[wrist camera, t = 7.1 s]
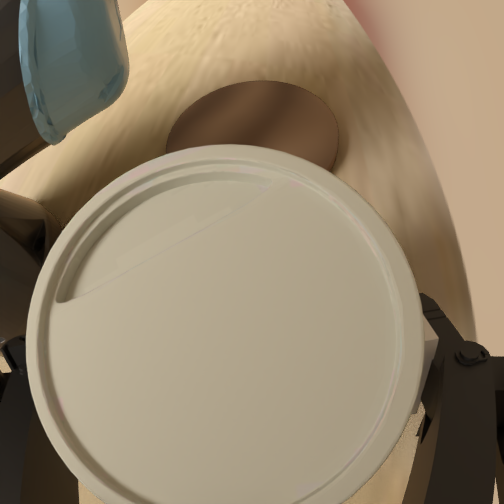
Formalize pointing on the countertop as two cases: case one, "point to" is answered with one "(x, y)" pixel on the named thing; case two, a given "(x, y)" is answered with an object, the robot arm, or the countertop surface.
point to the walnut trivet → (260, 121)
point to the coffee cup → (225, 334)
